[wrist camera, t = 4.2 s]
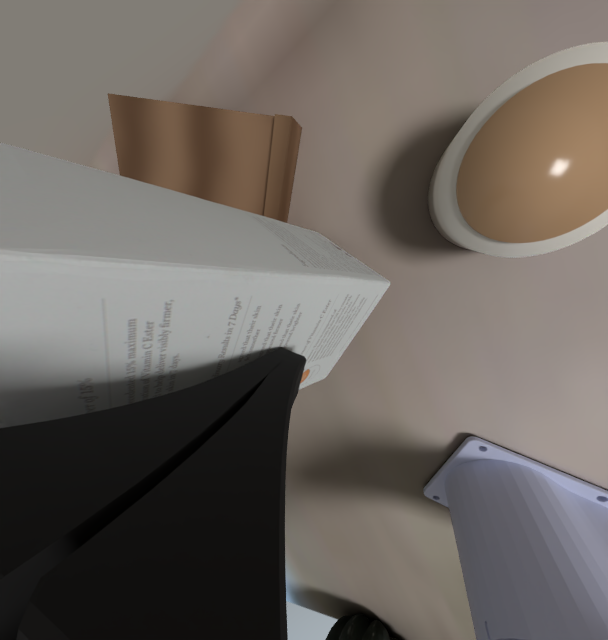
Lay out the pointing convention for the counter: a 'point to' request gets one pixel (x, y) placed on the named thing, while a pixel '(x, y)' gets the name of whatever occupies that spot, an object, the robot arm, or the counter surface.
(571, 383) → the counter surface
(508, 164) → the ramekin
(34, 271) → the small box
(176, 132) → the cutting board
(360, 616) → the squash
